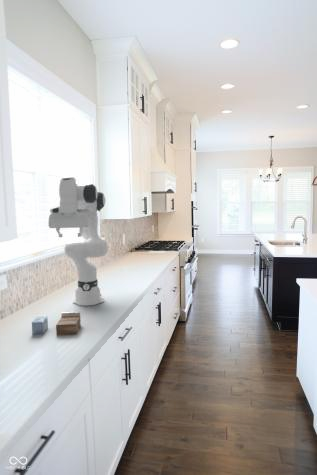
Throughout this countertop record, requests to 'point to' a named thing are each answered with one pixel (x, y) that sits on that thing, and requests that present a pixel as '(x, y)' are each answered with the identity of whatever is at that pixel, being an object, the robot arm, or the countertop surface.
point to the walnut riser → (68, 323)
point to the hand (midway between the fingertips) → (70, 236)
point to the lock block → (39, 325)
